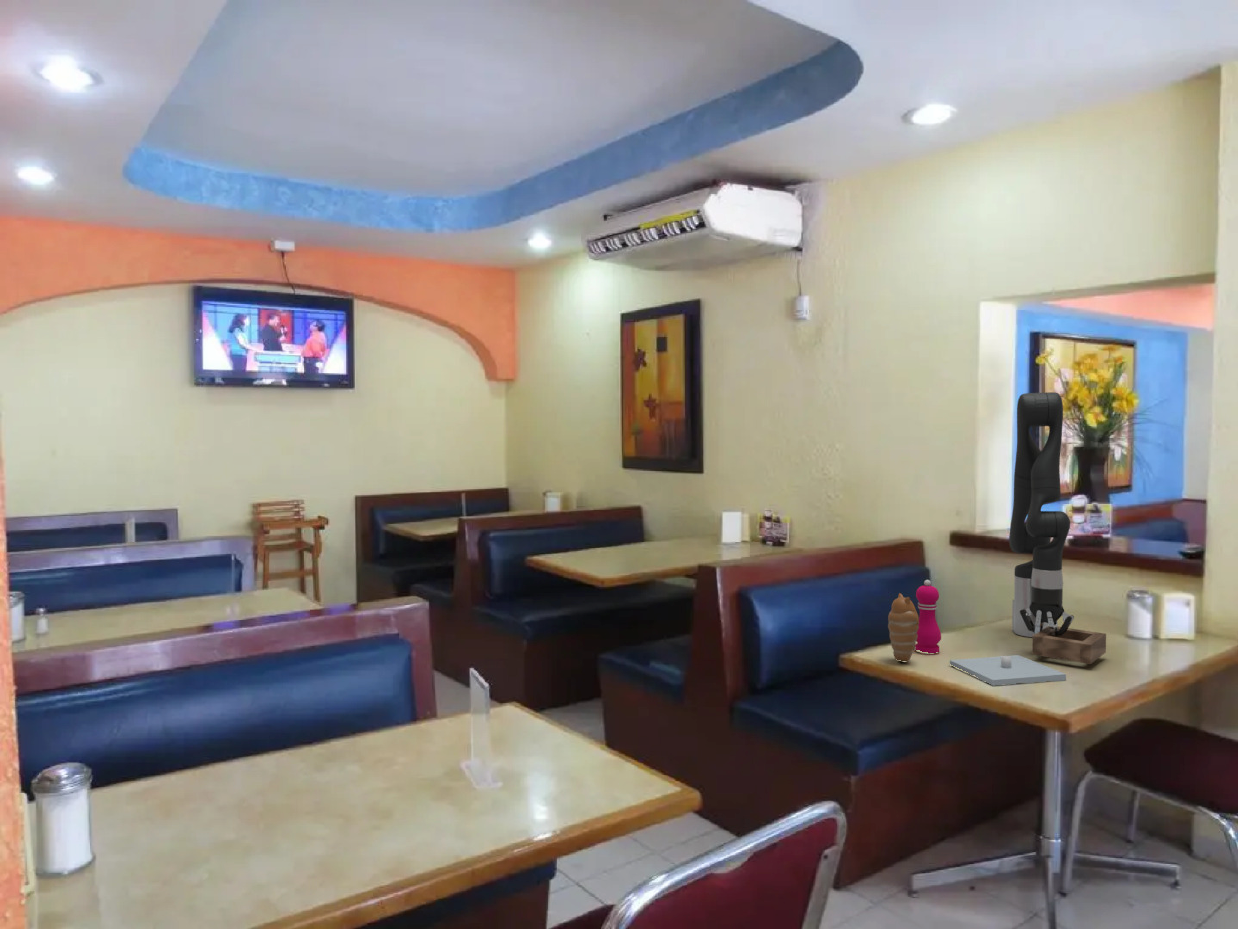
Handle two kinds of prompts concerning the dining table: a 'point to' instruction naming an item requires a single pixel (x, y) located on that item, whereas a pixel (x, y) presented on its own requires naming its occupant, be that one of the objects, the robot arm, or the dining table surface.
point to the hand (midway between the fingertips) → (1046, 648)
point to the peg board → (1008, 670)
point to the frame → (1070, 645)
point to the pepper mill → (927, 619)
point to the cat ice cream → (903, 627)
